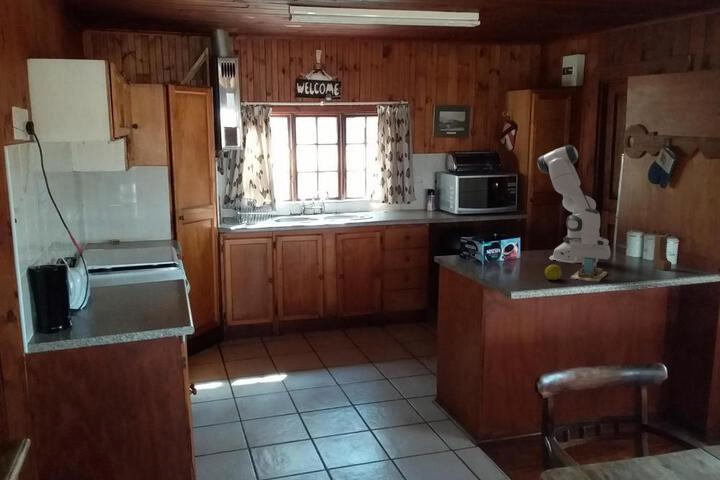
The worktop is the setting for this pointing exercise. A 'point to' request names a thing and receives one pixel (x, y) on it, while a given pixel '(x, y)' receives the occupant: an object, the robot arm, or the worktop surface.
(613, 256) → the worktop surface
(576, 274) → the keyhole guide
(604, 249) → the robot arm
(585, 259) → the teal peg
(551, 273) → the lemon
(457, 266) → the worktop surface
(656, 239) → the wooden block
